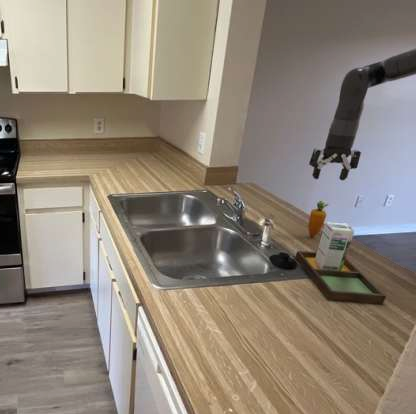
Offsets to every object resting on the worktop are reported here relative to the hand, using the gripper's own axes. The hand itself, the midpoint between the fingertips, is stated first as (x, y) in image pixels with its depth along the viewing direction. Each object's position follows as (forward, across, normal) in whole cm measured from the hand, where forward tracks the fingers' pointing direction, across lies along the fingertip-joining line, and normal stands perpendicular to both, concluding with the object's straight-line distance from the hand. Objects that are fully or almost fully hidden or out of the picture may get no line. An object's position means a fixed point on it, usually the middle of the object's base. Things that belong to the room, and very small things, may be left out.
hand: (328, 179), depth 116 cm
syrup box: (+23, -5, -22) cm, 32 cm away
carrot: (+24, 0, 0) cm, 24 cm away
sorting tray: (+23, -5, -27) cm, 36 cm away
